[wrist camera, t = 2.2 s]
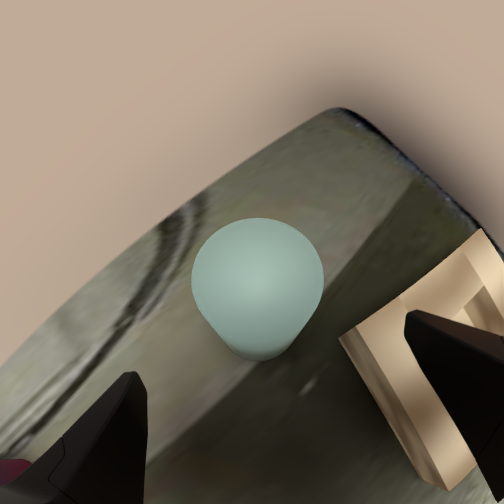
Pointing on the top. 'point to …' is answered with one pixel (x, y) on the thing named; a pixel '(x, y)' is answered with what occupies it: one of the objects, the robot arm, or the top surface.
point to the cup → (11, 469)
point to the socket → (407, 369)
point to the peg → (257, 285)
